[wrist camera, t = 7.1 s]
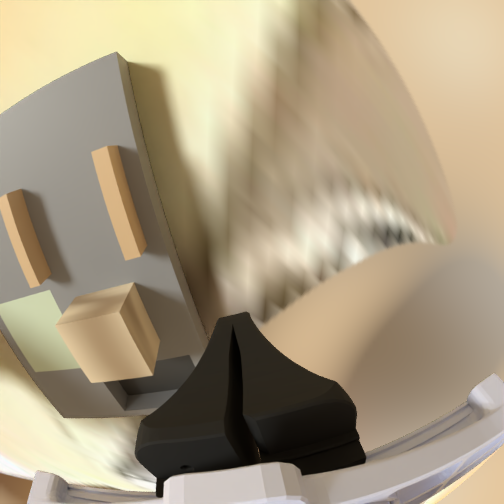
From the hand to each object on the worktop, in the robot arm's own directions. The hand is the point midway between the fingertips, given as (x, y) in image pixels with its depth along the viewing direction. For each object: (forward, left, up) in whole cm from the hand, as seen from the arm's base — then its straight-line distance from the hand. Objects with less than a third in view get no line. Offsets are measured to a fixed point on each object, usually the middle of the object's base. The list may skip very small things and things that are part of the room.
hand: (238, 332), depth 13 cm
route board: (-10, +3, -5) cm, 12 cm away
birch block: (-7, 0, -3) cm, 8 cm away
